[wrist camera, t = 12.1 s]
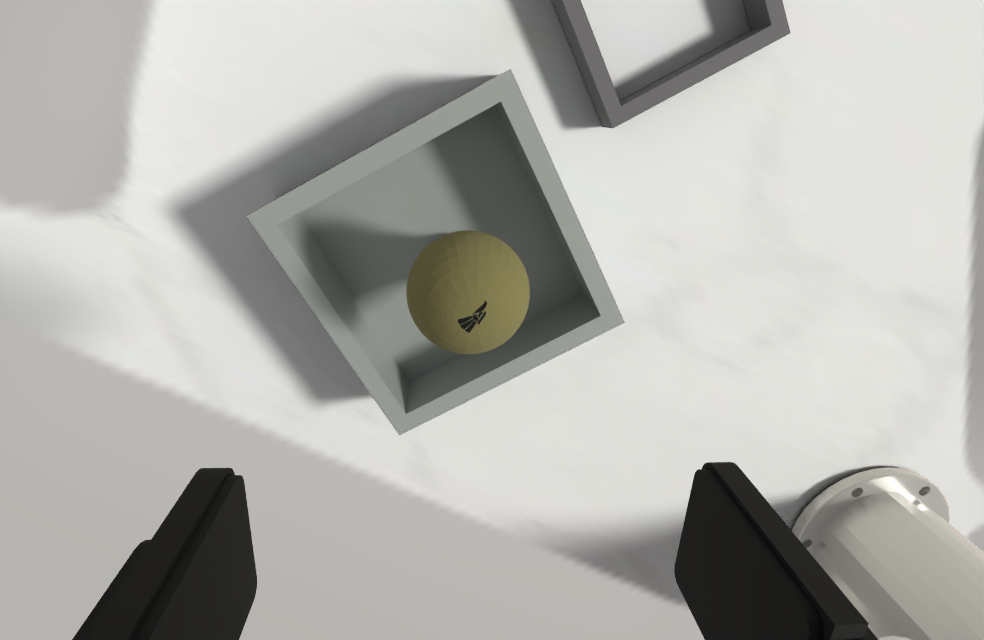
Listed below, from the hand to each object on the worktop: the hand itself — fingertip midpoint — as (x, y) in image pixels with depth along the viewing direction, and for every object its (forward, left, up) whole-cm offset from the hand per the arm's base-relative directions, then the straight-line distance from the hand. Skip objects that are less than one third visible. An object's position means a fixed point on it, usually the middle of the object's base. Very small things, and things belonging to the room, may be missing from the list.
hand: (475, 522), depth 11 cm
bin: (0, 0, -23) cm, 23 cm away
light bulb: (0, 0, -22) cm, 22 cm away
